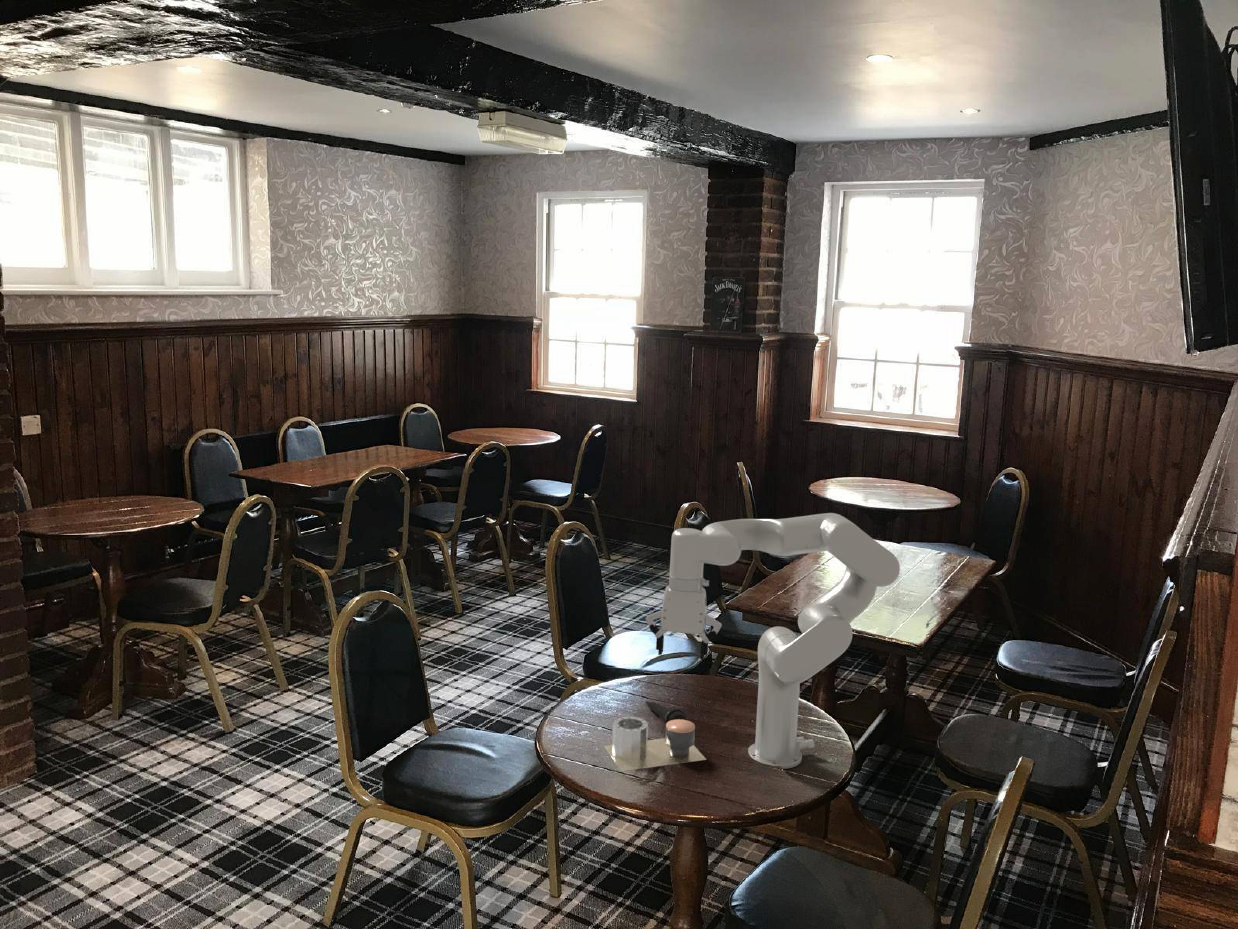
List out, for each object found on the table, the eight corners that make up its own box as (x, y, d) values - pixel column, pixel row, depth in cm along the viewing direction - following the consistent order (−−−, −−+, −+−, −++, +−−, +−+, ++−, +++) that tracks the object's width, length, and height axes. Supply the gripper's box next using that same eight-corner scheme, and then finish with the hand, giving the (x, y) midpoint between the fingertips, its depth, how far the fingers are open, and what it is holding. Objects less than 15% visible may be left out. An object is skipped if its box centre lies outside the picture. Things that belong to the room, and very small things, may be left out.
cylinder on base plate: (684, 739, 242) (686, 708, 241) (706, 763, 230) (707, 731, 229) (603, 750, 235) (604, 718, 234) (621, 775, 223) (622, 742, 222)
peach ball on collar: (687, 745, 237) (688, 718, 236) (698, 758, 230) (699, 730, 229) (660, 749, 235) (661, 721, 233) (671, 762, 228) (672, 733, 227)
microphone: (641, 716, 262) (674, 739, 244) (634, 697, 261) (667, 718, 243) (658, 707, 264) (693, 729, 246) (652, 688, 263) (686, 708, 245)
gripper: (725, 582, 226) (720, 653, 228) (650, 575, 229) (646, 645, 231) (722, 591, 218) (717, 665, 221) (645, 584, 221) (641, 657, 224)
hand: (681, 655), depth 226 cm, fingers open, 9 cm apart
